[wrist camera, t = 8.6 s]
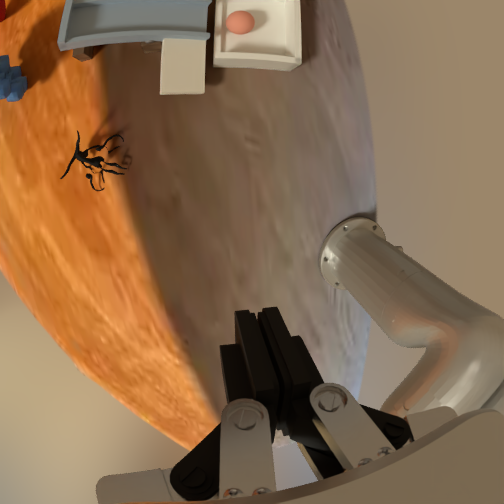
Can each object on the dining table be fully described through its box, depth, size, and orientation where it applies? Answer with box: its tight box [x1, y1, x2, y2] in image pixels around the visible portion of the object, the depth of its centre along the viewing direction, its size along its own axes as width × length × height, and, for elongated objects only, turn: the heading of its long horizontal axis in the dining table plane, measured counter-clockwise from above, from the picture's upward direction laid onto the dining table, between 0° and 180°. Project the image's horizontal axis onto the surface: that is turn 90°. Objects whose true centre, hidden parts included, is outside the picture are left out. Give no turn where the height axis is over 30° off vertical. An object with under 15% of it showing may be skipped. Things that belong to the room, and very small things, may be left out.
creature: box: [60, 131, 127, 191], centre depth 28 cm, size 8×5×8 cm
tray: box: [213, 0, 302, 71], centre depth 25 cm, size 10×12×4 cm
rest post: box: [73, 46, 93, 62], centre depth 21 cm, size 2×5×3 cm, turn 179°
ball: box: [226, 11, 255, 35], centre depth 24 cm, size 4×4×4 cm
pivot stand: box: [141, 41, 162, 53], centre depth 22 cm, size 2×7×5 cm, turn 179°
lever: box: [57, 0, 212, 95], centre depth 20 cm, size 17×13×4 cm
